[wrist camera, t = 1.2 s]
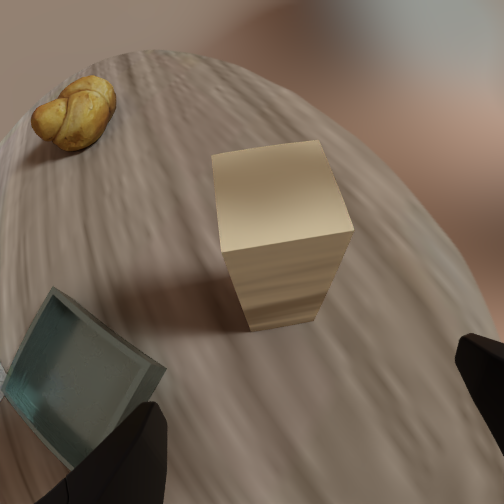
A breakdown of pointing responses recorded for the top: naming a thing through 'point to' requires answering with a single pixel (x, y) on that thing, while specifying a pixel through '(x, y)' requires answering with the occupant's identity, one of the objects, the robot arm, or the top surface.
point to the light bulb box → (2, 380)
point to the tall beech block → (280, 230)
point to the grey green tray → (76, 379)
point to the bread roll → (76, 114)
